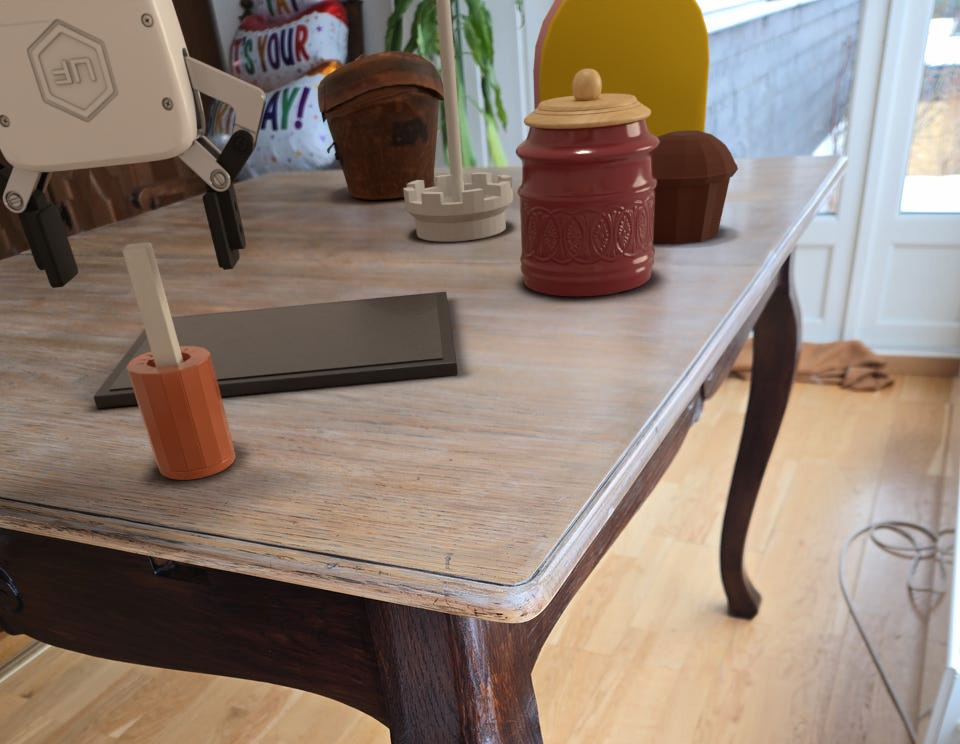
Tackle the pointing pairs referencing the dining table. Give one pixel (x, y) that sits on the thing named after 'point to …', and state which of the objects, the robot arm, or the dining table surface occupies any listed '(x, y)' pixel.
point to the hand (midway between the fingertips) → (148, 272)
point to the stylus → (152, 304)
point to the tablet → (310, 346)
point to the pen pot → (183, 414)
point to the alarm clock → (629, 56)
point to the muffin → (690, 186)
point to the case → (383, 121)
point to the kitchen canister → (587, 193)
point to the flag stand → (456, 173)
